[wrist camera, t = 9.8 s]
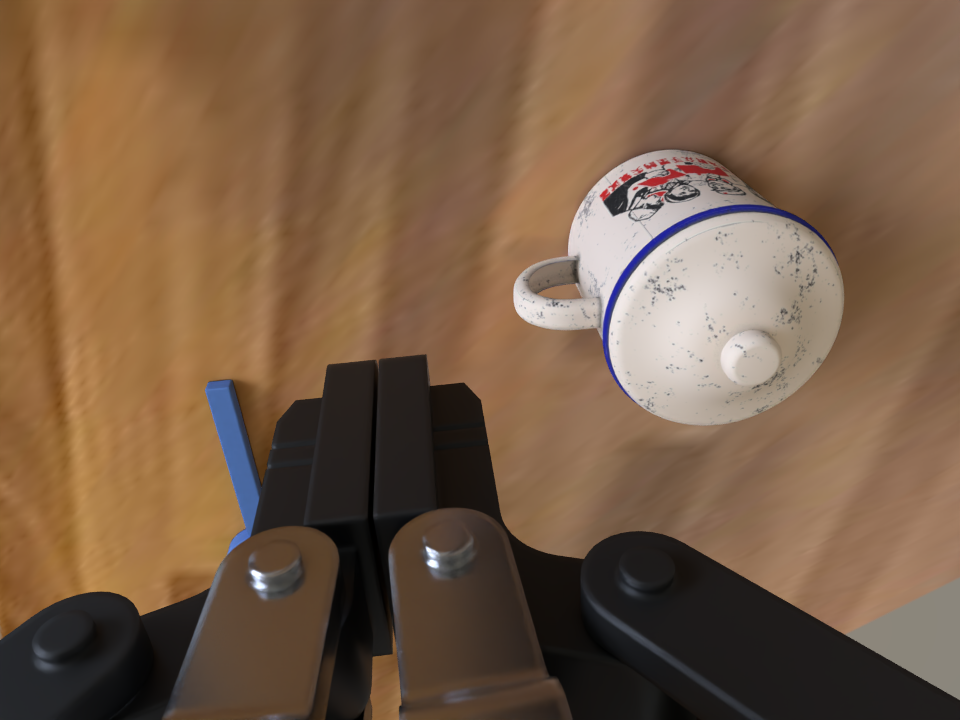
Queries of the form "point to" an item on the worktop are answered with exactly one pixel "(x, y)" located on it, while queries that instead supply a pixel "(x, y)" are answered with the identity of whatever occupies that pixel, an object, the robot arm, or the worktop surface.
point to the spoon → (235, 452)
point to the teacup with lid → (693, 289)
